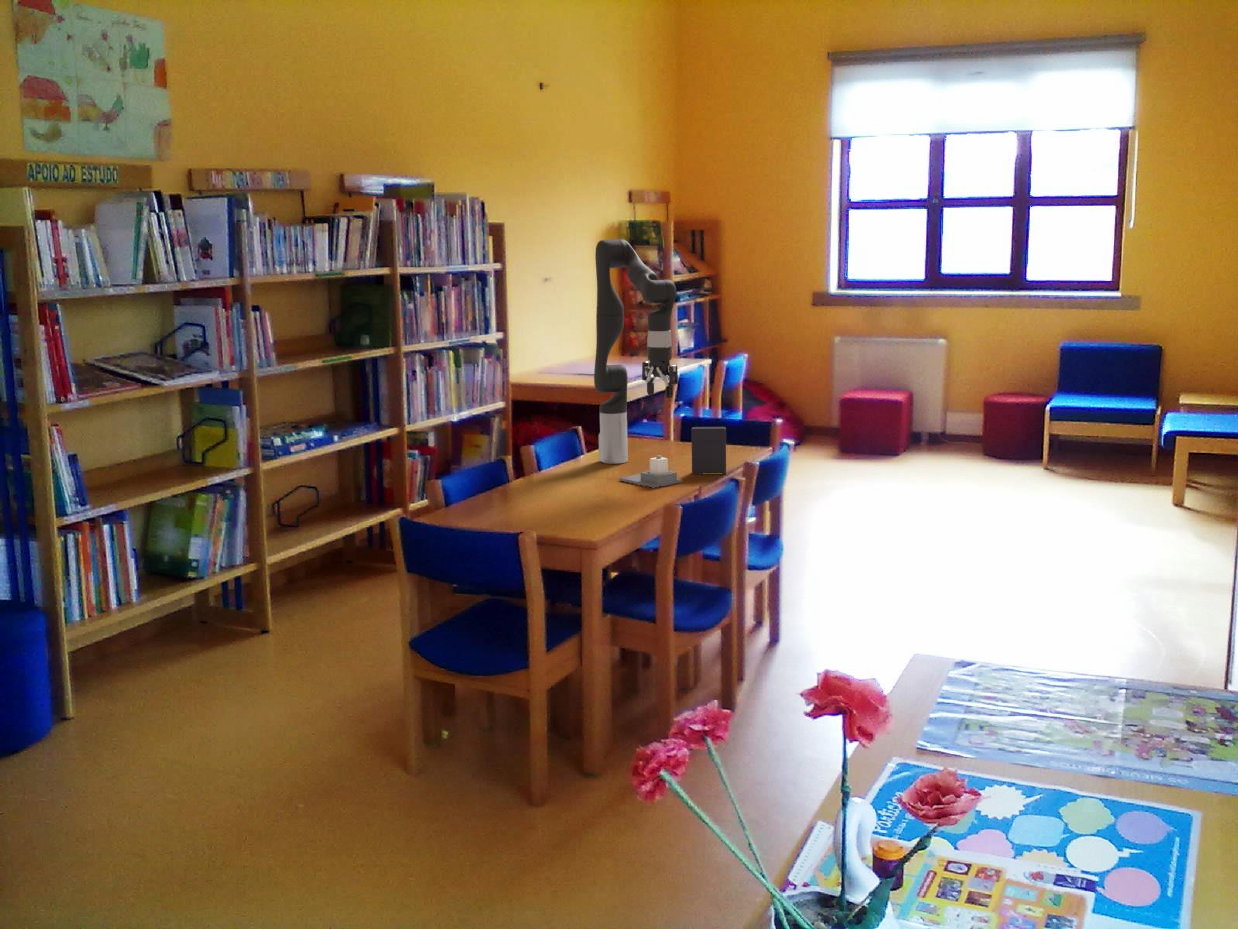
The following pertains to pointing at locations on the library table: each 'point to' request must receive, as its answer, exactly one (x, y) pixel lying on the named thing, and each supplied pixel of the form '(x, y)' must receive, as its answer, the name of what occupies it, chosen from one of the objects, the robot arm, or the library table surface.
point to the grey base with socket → (652, 479)
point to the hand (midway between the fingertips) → (659, 396)
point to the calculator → (708, 450)
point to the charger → (658, 465)
